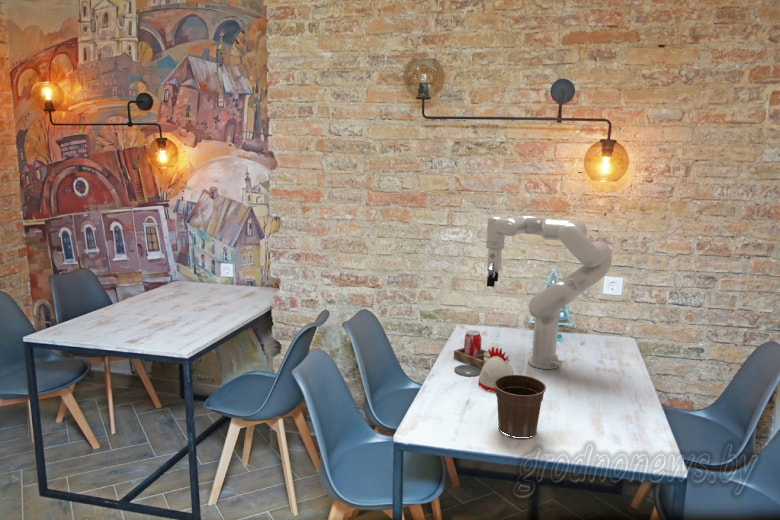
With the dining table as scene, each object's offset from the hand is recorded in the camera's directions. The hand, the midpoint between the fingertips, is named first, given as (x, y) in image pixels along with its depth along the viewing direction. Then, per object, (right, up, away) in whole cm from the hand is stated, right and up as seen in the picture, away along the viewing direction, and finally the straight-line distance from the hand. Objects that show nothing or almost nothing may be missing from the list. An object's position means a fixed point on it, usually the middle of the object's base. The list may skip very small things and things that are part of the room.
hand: (492, 283), depth 260 cm
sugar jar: (-3, -34, -10) cm, 36 cm away
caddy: (-6, -33, -7) cm, 34 cm away
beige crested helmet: (-3, -38, -28) cm, 48 cm away
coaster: (-13, -35, -16) cm, 40 cm away
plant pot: (-3, -46, -64) cm, 79 cm away
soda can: (-9, -32, -3) cm, 34 cm away
